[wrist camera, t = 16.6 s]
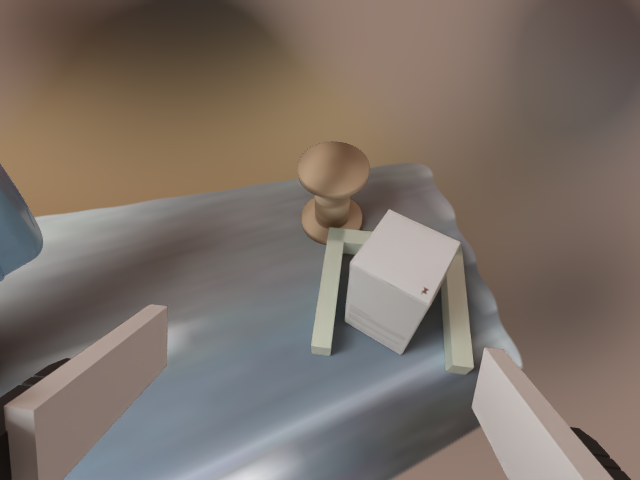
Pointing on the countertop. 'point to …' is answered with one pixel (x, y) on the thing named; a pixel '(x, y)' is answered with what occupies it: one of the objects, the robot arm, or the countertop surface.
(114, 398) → the robot arm
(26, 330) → the countertop surface
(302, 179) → the bobbin
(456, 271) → the u-shaped bracket
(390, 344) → the supplement box
